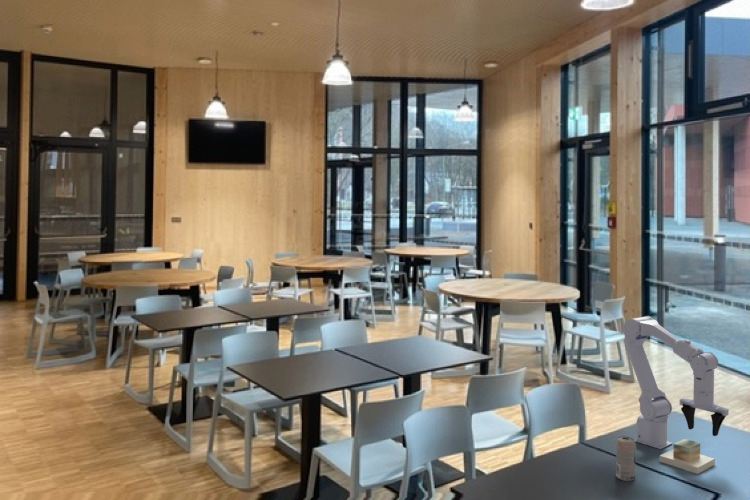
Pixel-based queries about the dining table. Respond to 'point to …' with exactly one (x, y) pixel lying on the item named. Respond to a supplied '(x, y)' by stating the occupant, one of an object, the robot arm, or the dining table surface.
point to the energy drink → (625, 458)
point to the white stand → (693, 466)
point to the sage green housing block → (686, 450)
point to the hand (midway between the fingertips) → (703, 431)
